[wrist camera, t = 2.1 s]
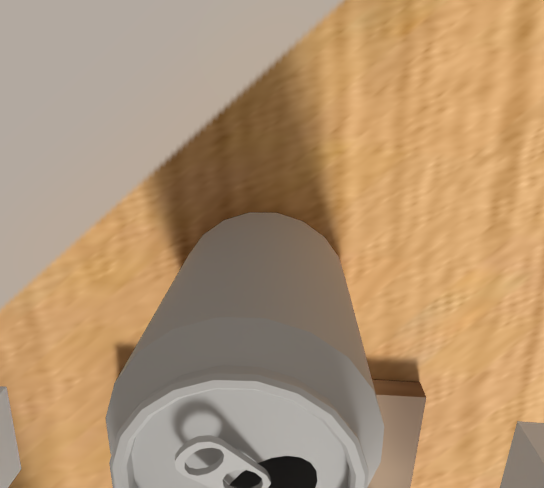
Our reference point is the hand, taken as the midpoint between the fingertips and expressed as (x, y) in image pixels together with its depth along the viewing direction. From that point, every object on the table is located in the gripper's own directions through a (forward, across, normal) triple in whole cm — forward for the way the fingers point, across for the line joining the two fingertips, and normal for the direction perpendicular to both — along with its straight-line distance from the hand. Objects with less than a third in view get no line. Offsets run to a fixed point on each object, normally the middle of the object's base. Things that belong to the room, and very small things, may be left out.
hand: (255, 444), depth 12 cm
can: (+11, 0, 0) cm, 11 cm away
